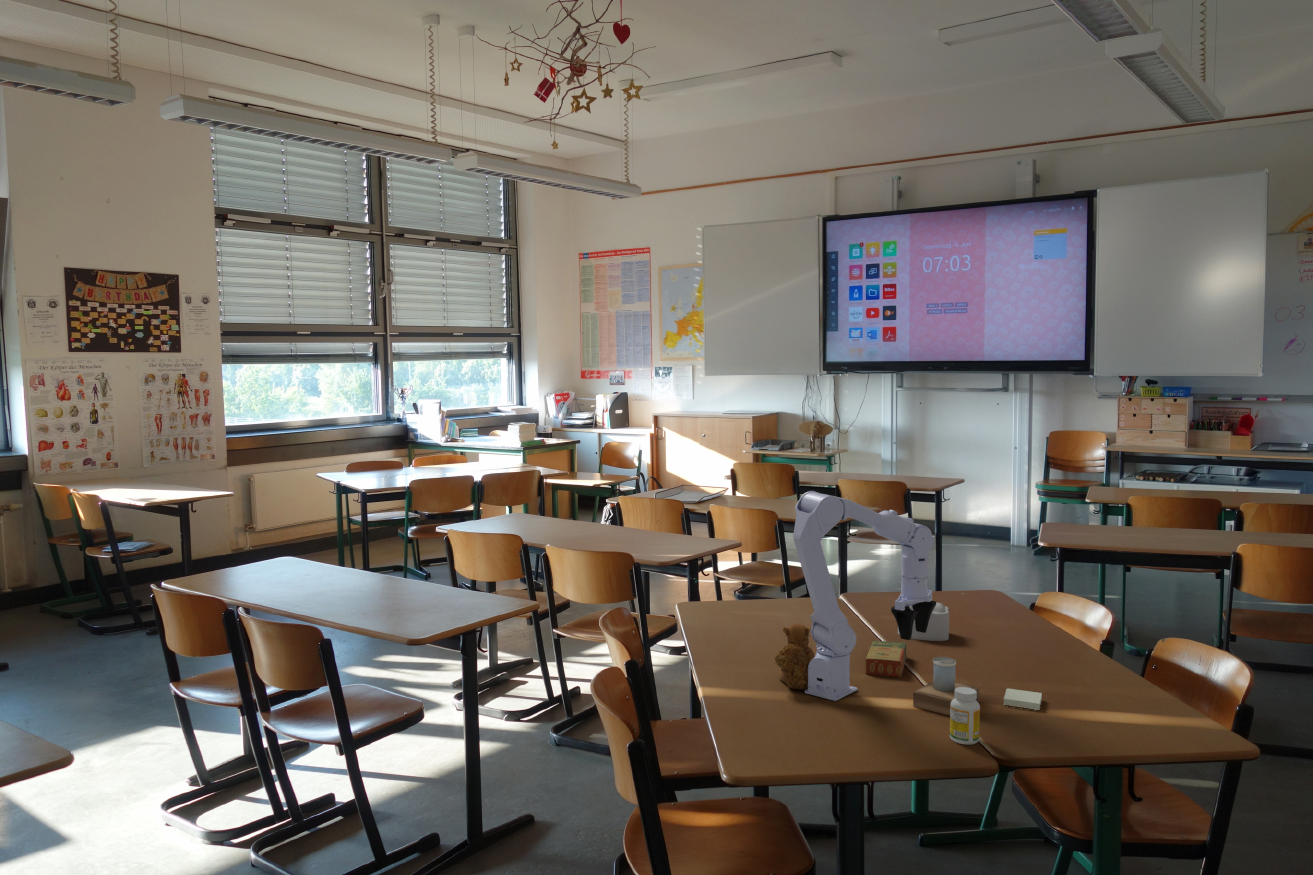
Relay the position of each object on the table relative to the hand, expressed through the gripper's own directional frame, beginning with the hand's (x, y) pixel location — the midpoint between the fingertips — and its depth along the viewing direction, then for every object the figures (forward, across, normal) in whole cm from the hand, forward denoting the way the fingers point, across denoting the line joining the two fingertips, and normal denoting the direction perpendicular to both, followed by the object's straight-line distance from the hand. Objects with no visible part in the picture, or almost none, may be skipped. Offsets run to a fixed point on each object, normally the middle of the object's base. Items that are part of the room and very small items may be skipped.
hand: (913, 635), depth 210 cm
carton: (+11, +6, +10) cm, 16 cm away
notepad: (+11, +2, -24) cm, 26 cm away
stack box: (+10, -9, -12) cm, 18 cm away
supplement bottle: (+11, -25, -23) cm, 36 cm away
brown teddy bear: (+11, -19, +18) cm, 28 cm away
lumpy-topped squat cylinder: (+11, +36, +15) cm, 40 cm away
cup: (+7, -9, -12) cm, 16 cm away
